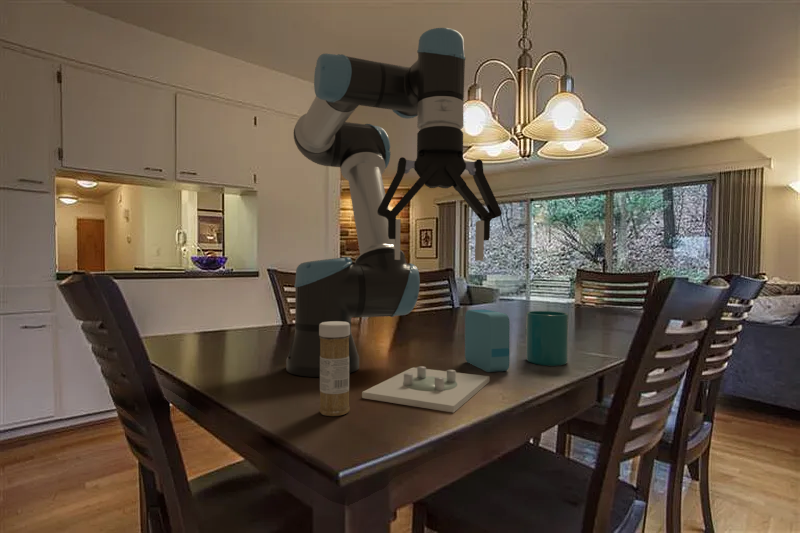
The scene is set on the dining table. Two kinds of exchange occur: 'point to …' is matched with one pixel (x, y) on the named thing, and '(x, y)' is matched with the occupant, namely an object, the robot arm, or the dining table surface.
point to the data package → (487, 340)
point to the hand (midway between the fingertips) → (438, 260)
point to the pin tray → (428, 388)
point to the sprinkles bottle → (334, 368)
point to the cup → (547, 338)
